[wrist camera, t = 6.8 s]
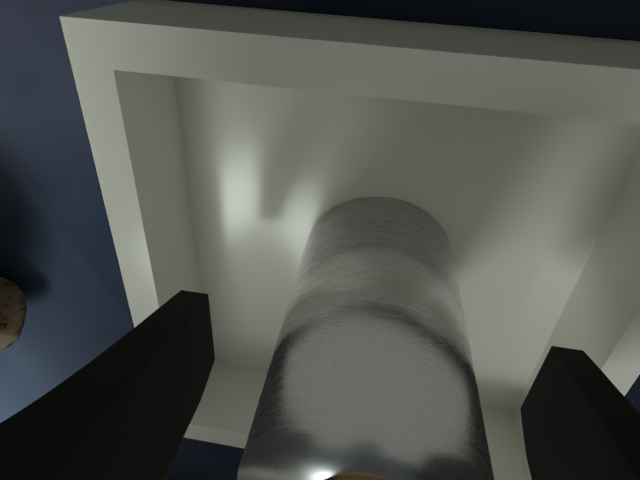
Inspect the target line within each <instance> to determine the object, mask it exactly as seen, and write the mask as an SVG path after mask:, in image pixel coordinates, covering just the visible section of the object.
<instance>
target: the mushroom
mask: <svg viewBox="0 0 640 480" xmlns="http://www.w3.org/2000/svg"><path fill="white" fill-rule="evenodd" d="M25 315H26V304H25V298H24V293H23V292H22V291H21V290H20V288H19V287H18V286H17V285H16V284H15V283H14V282H11V281H9V280H7V279H5V278H2V277H0V351H1V350H4V349H6V348H8V347H9V346H10V345H11V344H13V343H14V342H15V341H16V340H18V338H19V336H20V333H21V331H22V328H23V326H24V321H25Z"/></svg>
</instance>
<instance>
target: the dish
mask: <svg viewBox="0 0 640 480" xmlns="http://www.w3.org/2000/svg"><path fill="white" fill-rule="evenodd" d="M59 17H60V21H61V25H62V29H63V33H64V37H65V42H66V46H67V50H68V54H69V58H70V62H71V66H72V71H73V75H74V79H75V83H76V87H77V91H78V96H79V100H80V104H81V108H82V112H83V116H84V120H85V125H86V129H87V133H88V137H89V141H90V145H91V150H92V154H93V158H94V162H95V166H96V170H97V174H98V179H99V183H100V187H101V191H102V195H103V199H104V204H105V208H106V212H107V216H108V220H109V224H110V228H111V233H112V237H113V241H114V245H115V249H116V253H117V258H118V262H119V266H120V270H121V274H122V278H123V282H124V287H125V291H126V295H127V299H128V303H129V307H130V311H131V316H132V320H133V324H134V328H135V327H136V326H137V325H138V324H140V323H141V322H142V321H143V320H145V319H146V318H147V317H148V316H150V315H151V314H152V313H153V312H154V311H156V310H157V309H158V308H159V307H161V306H162V305H163V304H164V303H165V302H167V301H168V300H169V299H170V298H172V297H173V296H174V295H176V294H177V293H178V292H180V291H181V290H185V291H192V292H198V293H205V294H208V297H209V306H210V315H211V325H212V334H213V343H214V353H215V360H214V363H213V366H212V369H211V372H210V375H209V378H208V381H207V384H206V387H205V390H204V392H203V395H202V398H201V401H200V403H199V405H198V407H197V410H196V412H195V414H194V416H193V418H192V420H191V422H190V424H189V426H188V428H187V431H186V433H185V435H184V438H190V439H195V440H200V441H206V442H211V443H217V444H222V445H228V446H233V447H239V448H244V449H245V445H246V442H247V439H248V435H249V432H250V429H251V425H252V422H253V419H254V416H255V412H256V409H257V406H258V402H259V399H260V396H261V392H262V389H263V386H264V382H265V379H266V376H267V372H268V369H269V366H270V362H271V359H272V356H273V352H274V349H275V346H276V343H277V339H278V336H279V333H280V329H281V326H282V323H283V319H284V316H285V313H286V309H287V306H288V303H289V299H290V296H291V293H292V289H293V286H294V283H295V279H296V276H297V273H298V270H299V266H300V263H301V260H302V256H303V253H304V250H305V246H306V243H307V240H308V237H309V235H310V233H311V231H312V229H313V227H314V226H315V224H316V223H317V222H318V221H319V220H320V219H321V218H322V217H323V216H324V215H325V214H326V213H327V212H329V211H330V210H331V209H333V208H335V207H337V206H338V205H340V204H343V203H345V202H348V201H351V200H355V199H358V198H365V197H390V198H395V199H400V200H403V201H406V202H409V203H411V204H414V205H416V206H418V207H420V208H421V209H423V210H425V211H426V212H428V213H429V214H430V215H431V216H433V217H434V218H435V219H436V220H437V221H438V222H439V224H440V225H441V226H442V227H443V229H444V230H445V232H446V233H447V235H448V238H449V240H450V243H451V246H452V250H453V256H454V261H455V267H456V272H457V278H458V283H459V289H460V294H461V300H462V305H463V311H464V316H465V322H466V327H467V333H468V338H469V344H470V349H471V355H472V360H473V365H474V371H475V376H476V382H477V387H478V393H479V398H480V404H481V409H482V415H483V420H484V426H485V431H486V437H487V442H488V448H489V453H490V459H491V464H492V470H493V475H494V480H532V478H531V474H530V470H529V466H528V462H527V457H526V450H525V444H524V437H523V428H522V420H521V411H520V408H521V406H522V404H523V402H524V400H525V398H526V396H527V394H528V392H529V390H530V388H531V386H532V384H533V382H534V380H535V378H536V376H537V374H538V372H539V370H540V368H541V366H542V364H543V362H544V360H545V358H546V356H547V354H548V352H549V350H550V348H551V346H556V347H563V348H570V349H576V350H583V351H584V352H585V353H586V354H587V355H588V356H589V357H590V358H591V359H592V360H593V362H594V363H595V364H596V365H597V366H598V367H599V368H600V369H601V371H602V372H603V373H604V374H605V375H606V376H607V377H608V379H609V380H610V381H611V382H612V383H613V384H614V385H615V386H616V388H617V389H618V390H619V391H620V392H621V393H622V394H623V396H625V395H626V393H627V392H628V390H629V389H630V388H631V386H632V385H633V383H634V382H635V380H636V379H637V377H638V376H639V375H640V41H630V40H618V39H606V38H595V37H583V36H572V35H560V34H548V33H537V32H525V31H514V30H502V29H491V28H479V27H467V26H456V25H444V24H433V23H421V22H409V21H398V20H386V19H375V18H363V17H352V16H340V15H328V14H317V13H305V12H294V11H282V10H270V9H259V8H247V7H236V6H224V5H213V4H201V3H189V2H178V1H166V0H135V1H130V2H125V3H120V4H116V5H111V6H106V7H101V8H96V9H92V10H87V11H82V12H77V13H72V14H68V15H63V16H59Z"/></svg>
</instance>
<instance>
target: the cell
mask: <svg viewBox="0 0 640 480" xmlns="http://www.w3.org/2000/svg"><path fill="white" fill-rule="evenodd" d="M237 480H494V475H493V470H492V464H491V459H490V453H489V448H488V442H487V437H486V431H485V426H484V420H483V415H482V409H481V404H480V398H479V393H478V387H477V382H476V376H475V371H474V365H473V360H472V355H471V349H470V344H469V338H468V333H467V327H466V322H465V316H464V311H463V305H462V300H461V294H460V289H459V283H458V278H457V272H456V267H455V261H454V256H453V250H452V246H451V243H450V240H449V238H448V235H447V233H446V232H445V230H444V229H443V227H442V226H441V225H440V224H439V222H438V221H437V220H436V219H435V218H434V217H433V216H431V215H430V214H429V213H428V212H426V211H425V210H423V209H421V208H420V207H418V206H416V205H414V204H411V203H409V202H406V201H403V200H400V199H395V198H390V197H365V198H358V199H355V200H351V201H348V202H345V203H343V204H340V205H338V206H337V207H335V208H333V209H331V210H330V211H329V212H327V213H326V214H325V215H324V216H323V217H322V218H321V219H320V220H319V221H318V222H317V223H316V224H315V226H314V227H313V229H312V231H311V233H310V235H309V237H308V240H307V243H306V246H305V250H304V253H303V256H302V260H301V263H300V266H299V270H298V273H297V276H296V279H295V283H294V286H293V289H292V293H291V296H290V299H289V303H288V306H287V309H286V313H285V316H284V319H283V323H282V326H281V329H280V333H279V336H278V339H277V343H276V346H275V349H274V352H273V356H272V359H271V362H270V366H269V369H268V372H267V376H266V379H265V382H264V386H263V389H262V392H261V396H260V399H259V402H258V406H257V409H256V412H255V416H254V419H253V422H252V425H251V429H250V432H249V435H248V439H247V442H246V445H245V449H244V452H243V455H242V459H241V462H240V465H239V469H238V475H237Z"/></svg>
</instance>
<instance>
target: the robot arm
mask: <svg viewBox="0 0 640 480" xmlns="http://www.w3.org/2000/svg"><path fill="white" fill-rule="evenodd" d="M214 360H215V353H214V343H213V334H212V325H211V315H210V306H209V297H208V294H205V293H198V292H192V291H185V290H181V291H180V292H178V293H177V294H176V295H174V296H173V297H172V298H170V299H169V300H168V301H167V302H165V303H164V304H163V305H162V306H161V307H159V308H158V309H157V310H156V311H154V312H153V313H152V314H151V315H150V316H148V317H147V318H146V319H145V320H143V321H142V322H141V323H140V324H138V325H137V326H136V327H135V328H134V329H132V330H131V331H130V332H129V333H127V334H126V335H125V336H123V337H122V338H121V339H120V340H118V341H117V342H116V343H114V344H113V345H112V346H111V347H109V348H108V349H107V350H105V351H104V352H103V353H102V354H100V355H99V356H98V357H96V358H95V359H94V360H92V361H91V362H90V363H88V364H87V365H86V366H84V367H83V368H82V369H80V370H79V371H77V372H76V373H75V374H73V375H72V376H70V377H69V378H68V379H66V380H65V381H63V382H62V383H61V384H59V385H58V386H56V387H55V388H54V389H52V390H51V391H49V392H48V393H46V394H45V395H44V396H42V397H41V398H39V399H38V400H36V401H35V402H33V403H32V404H30V405H29V406H27V407H26V408H24V409H22V410H21V411H19V412H18V413H16V414H15V415H13V416H11V417H10V418H8V419H7V420H5V421H3V422H2V423H0V480H163V478H164V476H165V474H166V472H167V470H168V468H169V466H170V463H171V461H172V459H173V457H174V455H175V453H176V451H177V449H178V447H179V445H180V443H181V441H182V439H183V437H184V435H185V433H186V431H187V428H188V426H189V424H190V422H191V420H192V418H193V416H194V414H195V412H196V410H197V407H198V405H199V403H200V401H201V398H202V395H203V392H204V390H205V387H206V384H207V381H208V378H209V375H210V372H211V369H212V366H213V363H214ZM520 411H521V420H522V428H523V437H524V444H525V450H526V457H527V462H528V466H529V470H530V474H531V478H532V480H640V414H639V413H638V412H637V410H636V409H635V408H634V407H633V406H632V405H631V404H630V402H629V401H628V400H627V399H626V398H625V397H624V396H623V394H622V393H621V392H620V391H619V390H618V389H617V388H616V386H615V385H614V384H613V383H612V382H611V381H610V380H609V379H608V377H607V376H606V375H605V374H604V373H603V372H602V371H601V369H600V368H599V367H598V366H597V365H596V364H595V363H594V362H593V360H592V359H591V358H590V357H589V356H588V355H587V354H586V353H585V352H584V351H583V350H576V349H570V348H563V347H556V346H551V348H550V350H549V352H548V354H547V356H546V358H545V360H544V362H543V364H542V366H541V368H540V370H539V372H538V374H537V376H536V378H535V380H534V382H533V384H532V386H531V388H530V390H529V392H528V394H527V396H526V398H525V400H524V402H523V404H522V406H521V408H520Z"/></svg>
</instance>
